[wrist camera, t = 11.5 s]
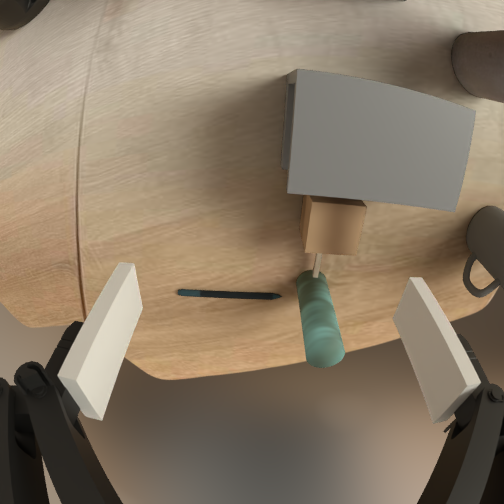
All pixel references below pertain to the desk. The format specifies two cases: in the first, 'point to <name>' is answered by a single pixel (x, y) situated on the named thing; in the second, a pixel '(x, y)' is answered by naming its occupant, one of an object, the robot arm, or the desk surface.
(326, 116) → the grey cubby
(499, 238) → the mug
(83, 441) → the robot arm
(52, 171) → the desk surface
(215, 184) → the desk surface
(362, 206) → the tethered cylinder
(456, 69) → the pillar candle
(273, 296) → the pen
